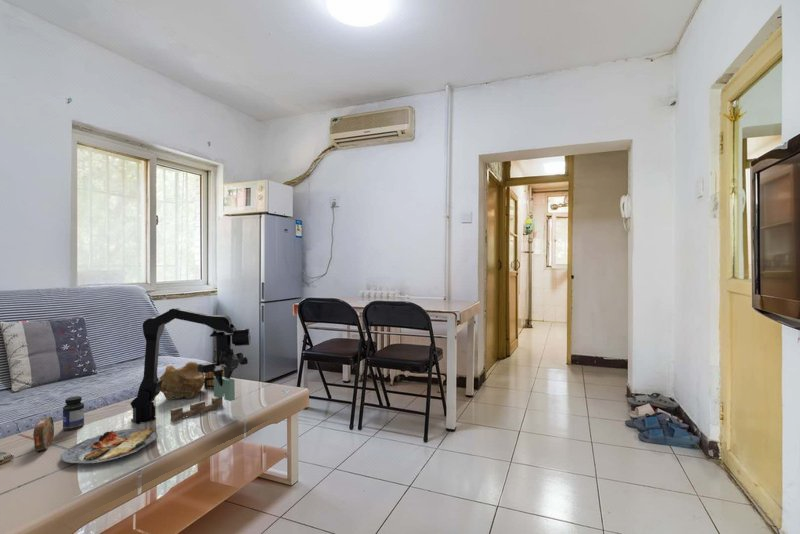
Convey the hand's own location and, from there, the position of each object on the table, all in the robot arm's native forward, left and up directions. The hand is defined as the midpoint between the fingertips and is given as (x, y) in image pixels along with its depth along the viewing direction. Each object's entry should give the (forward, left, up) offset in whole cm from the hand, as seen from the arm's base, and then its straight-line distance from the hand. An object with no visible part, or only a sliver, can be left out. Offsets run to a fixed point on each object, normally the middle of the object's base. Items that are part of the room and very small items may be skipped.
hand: (223, 385), depth 159 cm
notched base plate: (-6, +9, -11) cm, 16 cm away
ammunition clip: (+18, +39, -11) cm, 44 cm away
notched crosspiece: (0, 0, -5) cm, 5 cm away
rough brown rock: (+3, +37, -11) cm, 39 cm away
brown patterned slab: (-51, +21, -11) cm, 56 cm away
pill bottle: (-40, +33, -11) cm, 53 cm away
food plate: (-39, -2, -12) cm, 41 cm away
